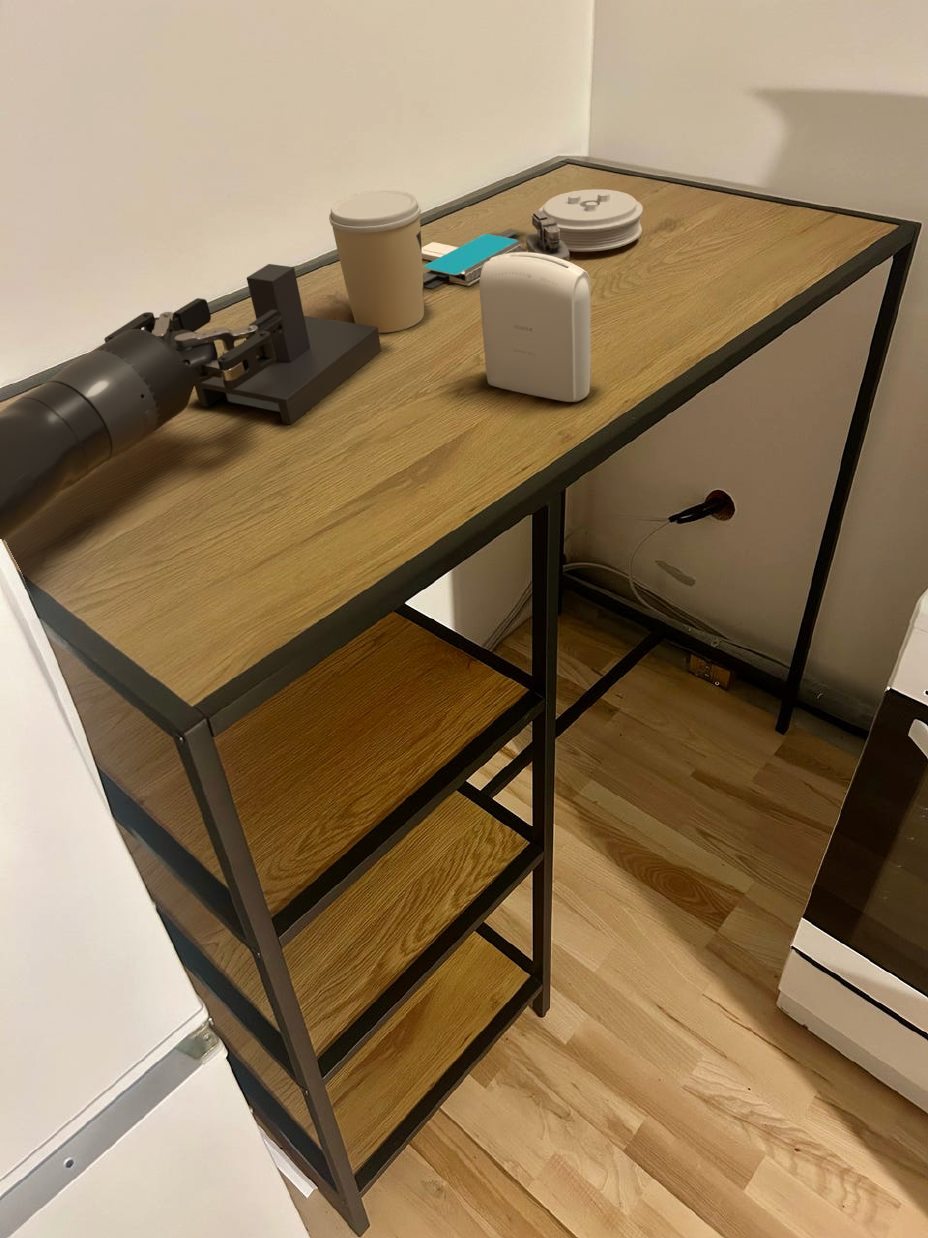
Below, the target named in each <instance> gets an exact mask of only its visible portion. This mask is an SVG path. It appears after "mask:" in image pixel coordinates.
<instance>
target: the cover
mask: <svg viewBox="0 0 928 1238" xmlns="http://www.w3.org/2000/svg"><path fill="white" fill-rule="evenodd" d="M246 282H247V286H248V291H249V295H250V298H251V303H252V307H253V311H254V315H255V320H257V319H258V318H260V317H261V316H263V315H264V314H266V313H267V312H269V311H270V310H272V309H273V310H279V311H281V313H282V318H283V322H284V327H285V333H284V335H282V336H281V337H279V338H278V339H277V340H275V341H274V342H272V344H273V348H274V352H275V357H276V361H275V362H274V363H273V364H271V365H270V366H268V367H267V368H265V369H264V370H262V371H261V372H259V373H258V374H256V375H255V376H253V377H252V378H250V379H249V380H247V381H246V382H244V383H243V384H241V385H240V386H238V387H237V388H234V389H226V388H225V386H224V383H223V379H221V378H217V377H212V378H211V379H209V380H207V381H204V382H201V383H199V384H197V385H195V386H194V391H195V393H196V396H197V399H198V403H199V405H200V406H202V407H209V406H211V405H212V404H214V403H215V402H216V401H218V400H220V399H221V398H222V397H223V396H224V395H225V396H226V393H229V394H234V395H239V396H244V397H249V398H254V399H259V400H264V401H269V402H274V403H279V404H278V405H279V409H280V412H279V413H280V417H281V422H282V424H285V425H286V424H287V425H293V424H294V423H295V422H297V420H299V419H300V418H301V417H302V416H304V415H305V414H307V412H308V411H310V410H311V409H312V408H313V407H315V406H316V405H317V404H318V403H319V402H321V401H322V400H323V399H324V398H326V397H327V396H328V395H330V393H332V392H333V391H334V390H335V389H337V388H338V387H339V386H340V385H341V384H342V383H344V382H345V381H346V380H348V378H350V377H351V376H352V375H354V374H355V373H356V372H357V371H358V370H359V369H361V368H362V367H363V366H365V365H366V364H367V363H368V362H369V361H370V360H372V359H373V358H374V357H375V356H377V355H378V354H379V353H380V352H382V346H381V340H380V333H378V327H375V326H368V325H362V324H356V323H355V322H349V321H342V320H335V319H329V318H328V319H327V318H322V317H316V316H309V315H305V314H304V310H303V304H302V299H301V295H300V290H299V285H298V280H297V275H296V270H295V267H294V266H289V265H280V264H274V263H268V264H266V265H265V266H263V267H261V268H259V269H258V270H256V271H255V272H253V273H251V274H250V275H248V276H247V277H246Z"/></svg>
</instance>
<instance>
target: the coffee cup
mask: <svg viewBox="0 0 928 1238" xmlns="http://www.w3.org/2000/svg"><path fill="white" fill-rule="evenodd" d="M421 211H422V209H421V205H420V203H419V202H418V200H417V198H416V196H415V195H413V194H412V193H409V192H407V191H402V190H394V189H381V190H371V191H363V192H359V193H355V194H351V195H348V196H346V197H343V198H340V199H339V200H337V201H336V202H335V203H333V204H332V206H331V208H330V213H329V216H328V219H329V223H330V225H331V226H332V227H331V228H332V232H333V236H334V240H335V245H336V250H337V254H338V259H339V263H340V267H341V271H342V275H343V280H344V283H345V288H346V292H347V297H348V301H349V305H350V309H351V314H352V317H353V321H354V323H355V324H362V325H368V326H375V327H378V333H379V334H384V333H385V334H386V333H388V334H389V333H395V332H399V331H403V330H407V329H409V328H413V327H414V326H415V325H417V324H419V323H420V322H421V321H422V320H423V318H424V315H425V298H424V297H425V296H424V295H425V294H424V288H423V274H424V273H423V271H424V270H423V259H422V229H421V218H420V216H421Z"/></svg>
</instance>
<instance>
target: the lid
mask: <svg viewBox="0 0 928 1238" xmlns="http://www.w3.org/2000/svg"><path fill="white" fill-rule="evenodd" d="M537 211H542V212H543V213H544V214H545V215H546V216H547V217H548V218H549V219H551V218H555V219H556V221H557V226H558V228H559V229H560V240H561V241H563V242H564V244H565V245H566V246H567V248H568V251H569V252H581V253H582V252H583V253H584V252H585V253H586V252H599V251H600V252H601V251H606V250H613V249H616V248H621V247H623V246H626V245H628V244H631V243H632V242H634V241H636V240H637V239H639V237H640V236H641V235H642V231H643V228H642V225H641V217H642V215H643V211H644V207H643V205H642V204H641V202H639V201H637V200H636V199H635V197H634V196H632V195H631V194H629V193H626V192H623V191H619V190H612V189H601V188H600V189H599V188H597V189H596V188H595V189H593V188H592V189H581V190H573V191H568V192H565V193H561V194H558V195H556V196H553V197H551V198H549V199H548V200H547V201H546V202H545V203H544V204H543V205H542V206H540V208H539V209H538V210H537Z"/></svg>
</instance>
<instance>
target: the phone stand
mask: <svg viewBox="0 0 928 1238" xmlns="http://www.w3.org/2000/svg"><path fill="white" fill-rule="evenodd" d="M518 232H519V230H518V229H513V228H508V229H507V230H505V231H503V232H501V233H499V234H497V235H495V234H490V233H485V234H482V235H480V236H478V237H476V238H474V239H473V240H470V241H468V242H466V243H465V244H463V245H461V246H459V247H458V246H454V245H449V244H444V243H439V242H435V241H431V242H430V243H428V244H426V245H424V246H421V248H422V260H427V261H430V262H428V263H426V264H425V265H423V269H425V270H427V272H426V273H423V289H424V288H426V289H430V290H433V289H435V288H437V287H439V286H440V285H443V284H444V283H446V282H447V283H452V284H457V285H460V286H464V287H472V286H473V285H475V284H477V283H478V282H479V283H480V275H481V271H482V268H483V265H484V263H485V262H487V261H489V260H490V259H491V258H492V257H495V256H498V255H502V254H507V253H515V252H528V249H523V248H522V246H523V243H522V240H521V239H519V240H518V239H516V238H517V237H520V234H516V233H518ZM428 270H429V271H428Z"/></svg>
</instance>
